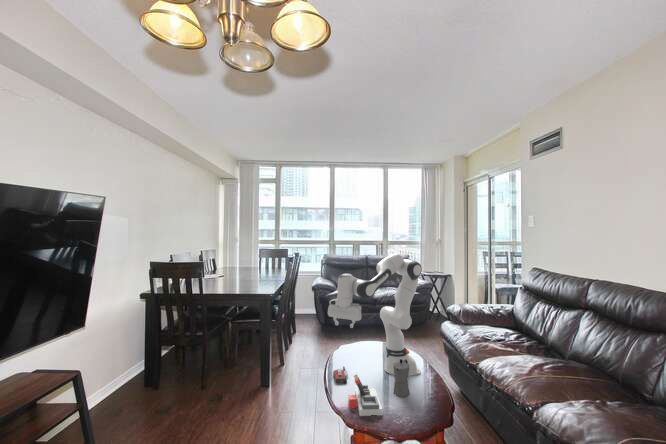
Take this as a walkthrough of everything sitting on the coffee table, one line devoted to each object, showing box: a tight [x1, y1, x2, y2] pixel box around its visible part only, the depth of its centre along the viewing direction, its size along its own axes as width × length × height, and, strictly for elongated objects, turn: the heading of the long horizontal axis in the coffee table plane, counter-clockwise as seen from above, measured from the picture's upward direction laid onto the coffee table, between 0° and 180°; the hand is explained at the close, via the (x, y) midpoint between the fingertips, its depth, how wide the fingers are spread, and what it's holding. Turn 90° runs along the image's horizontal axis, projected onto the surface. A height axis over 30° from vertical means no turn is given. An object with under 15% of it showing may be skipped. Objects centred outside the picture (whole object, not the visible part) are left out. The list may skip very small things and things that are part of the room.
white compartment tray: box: [354, 384, 383, 417], centre depth 153 cm, size 11×19×5 cm, turn 3°
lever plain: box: [352, 372, 364, 389], centre depth 160 cm, size 2×3×10 cm
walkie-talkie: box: [332, 366, 349, 385], centre depth 183 cm, size 9×4×20 cm
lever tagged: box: [354, 378, 366, 395], centre depth 154 cm, size 2×3×10 cm
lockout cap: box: [347, 394, 358, 409], centre depth 151 cm, size 4×4×4 cm
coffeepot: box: [393, 359, 411, 398], centre depth 165 cm, size 15×9×18 cm, turn 146°
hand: (344, 326), depth 171 cm, fingers open, 8 cm apart
